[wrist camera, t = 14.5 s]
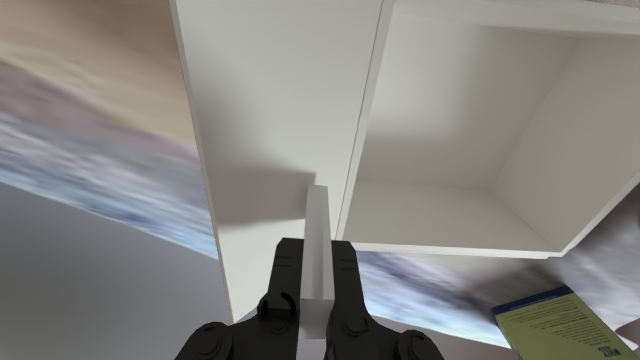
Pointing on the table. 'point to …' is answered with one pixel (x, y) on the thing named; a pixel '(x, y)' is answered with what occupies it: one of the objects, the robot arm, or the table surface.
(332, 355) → the robot arm
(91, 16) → the table surface
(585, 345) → the protein box
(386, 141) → the carton
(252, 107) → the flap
